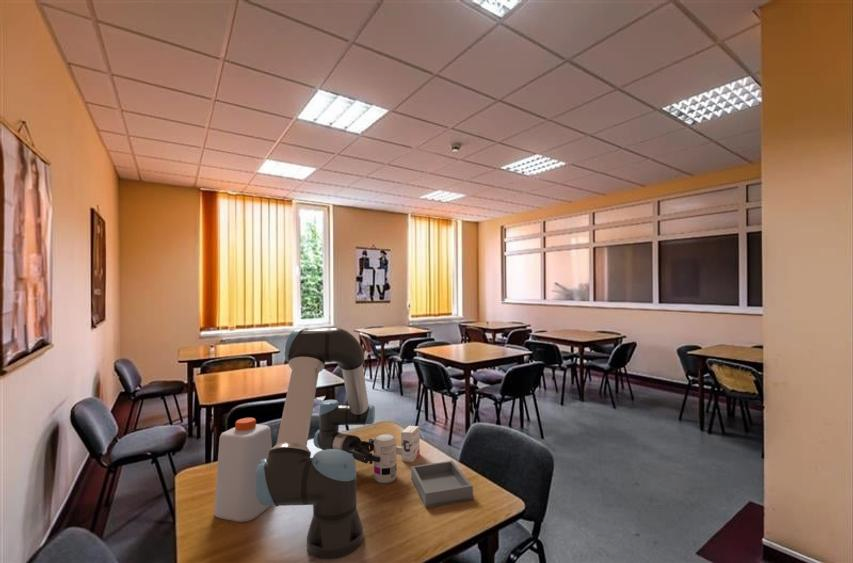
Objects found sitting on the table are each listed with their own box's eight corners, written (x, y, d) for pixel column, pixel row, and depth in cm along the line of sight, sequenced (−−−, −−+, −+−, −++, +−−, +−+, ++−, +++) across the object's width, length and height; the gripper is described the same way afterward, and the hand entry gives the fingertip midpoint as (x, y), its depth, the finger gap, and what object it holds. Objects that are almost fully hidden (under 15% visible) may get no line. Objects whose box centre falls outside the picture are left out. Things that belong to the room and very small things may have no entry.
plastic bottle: (281, 499, 128) (280, 414, 129) (248, 526, 113) (247, 430, 114) (244, 493, 132) (243, 411, 133) (207, 518, 118) (207, 426, 119)
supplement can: (370, 482, 138) (370, 440, 139) (379, 472, 146) (379, 432, 146) (391, 485, 136) (390, 442, 136) (399, 474, 144) (399, 434, 144)
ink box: (409, 452, 164) (408, 424, 164) (420, 454, 162) (419, 425, 162) (401, 461, 156) (400, 431, 156) (412, 462, 154) (412, 432, 154)
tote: (472, 499, 125) (472, 485, 125) (425, 508, 121) (425, 493, 121) (452, 472, 145) (452, 460, 145) (411, 478, 140) (411, 466, 140)
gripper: (364, 445, 159) (411, 455, 148) (328, 465, 141) (378, 478, 130) (364, 426, 159) (411, 435, 148) (328, 444, 141) (378, 456, 130)
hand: (395, 455), depth 139 cm, fingers closed on supplement can, 8 cm apart
